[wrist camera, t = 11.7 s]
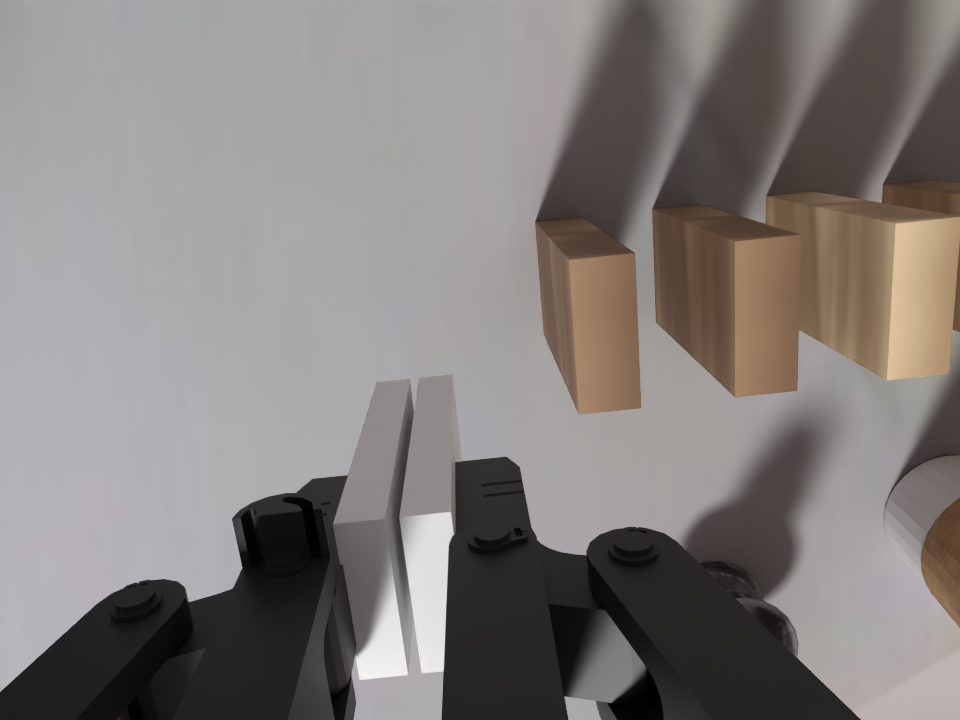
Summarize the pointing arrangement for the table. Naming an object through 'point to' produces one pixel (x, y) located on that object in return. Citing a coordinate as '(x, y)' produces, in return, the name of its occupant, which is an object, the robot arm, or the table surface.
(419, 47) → the table surface
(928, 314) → the oak domino
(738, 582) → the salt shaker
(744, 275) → the domino
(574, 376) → the domino
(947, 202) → the domino
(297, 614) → the robot arm
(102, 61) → the table surface
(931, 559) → the coffee cup
